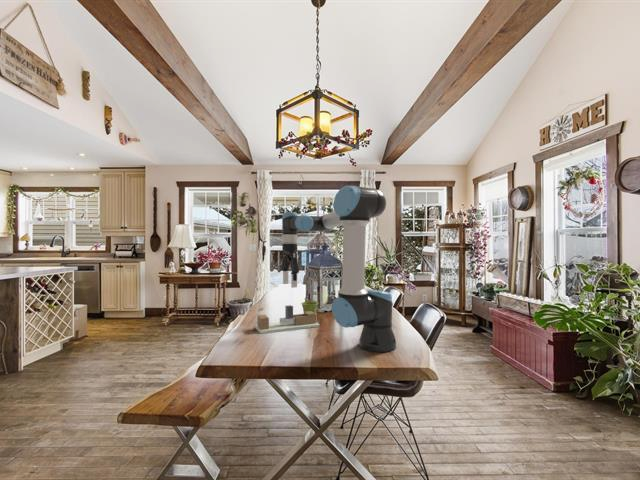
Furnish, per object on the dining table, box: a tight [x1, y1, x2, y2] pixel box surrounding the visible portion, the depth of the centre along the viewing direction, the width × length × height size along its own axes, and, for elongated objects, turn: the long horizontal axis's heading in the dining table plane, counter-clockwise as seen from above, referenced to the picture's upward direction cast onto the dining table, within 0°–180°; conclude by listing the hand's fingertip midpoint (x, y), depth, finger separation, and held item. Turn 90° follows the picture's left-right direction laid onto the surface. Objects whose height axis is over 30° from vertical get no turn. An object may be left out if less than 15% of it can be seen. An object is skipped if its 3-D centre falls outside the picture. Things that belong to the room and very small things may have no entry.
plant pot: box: [301, 301, 319, 315], centre depth 188 cm, size 9×9×9 cm
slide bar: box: [279, 304, 300, 326], centre depth 172 cm, size 3×17×9 cm, turn 114°
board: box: [254, 311, 320, 335], centre depth 170 cm, size 12×30×6 cm, turn 114°
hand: (289, 285), depth 171 cm, fingers open, 13 cm apart
